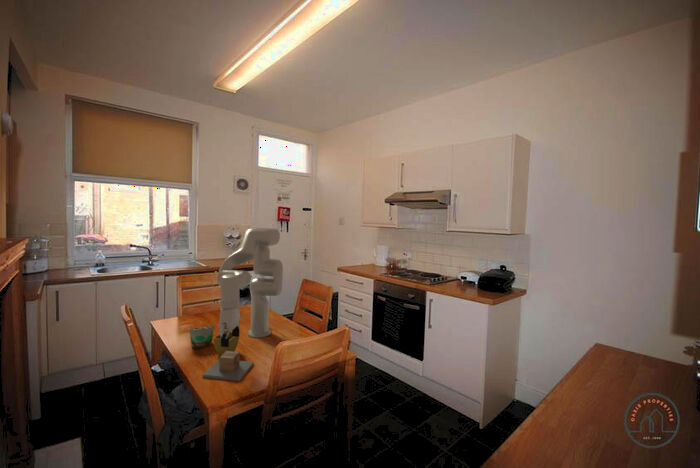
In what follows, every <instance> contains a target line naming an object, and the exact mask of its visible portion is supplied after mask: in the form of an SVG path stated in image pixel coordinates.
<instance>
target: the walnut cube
mask: <svg viewBox="0 0 700 468" xmlns="http://www.w3.org/2000/svg"><path fill="white" fill-rule="evenodd" d="M218 360H219V371H227V372H233V371H234V370H235V369H236V368H237V367H238V366H239V361H240V351H234V352H233V351H226V352H225V353H224V354H222V355H220V356H219V359H218Z"/></svg>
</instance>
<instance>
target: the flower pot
mask: <svg viewBox="0 0 700 468" xmlns="http://www.w3.org/2000/svg"><path fill="white" fill-rule="evenodd" d="M224 334H225V335H226V332H224ZM239 335H240V332H239ZM228 338H229V347H221V338H220V336H219V334H217V335H216V336H214V337H213V344H214V348H215V351H216V353H217V354H218V355H220V356H221V355H222V354H224V353H225V352H226V351H233V352H236V349H237V346H238V344H239V339H240V336H239V337H234V336H232V331H231V332H229V335H228Z"/></svg>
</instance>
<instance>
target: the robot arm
mask: <svg viewBox="0 0 700 468" xmlns="http://www.w3.org/2000/svg"><path fill="white" fill-rule="evenodd" d="M280 237H281V233H280V231H279V230H278V229H277V228H270V227H269V228H266V227H251V228H248V229H246V231H245V232H244V235H243V237H242V239H241V242H240V243H239V247H238V249H237V251H235V252H233V253H232V254H230V255H229V256H228V257H226V259H224V260H223V261H222V263H221V264H220V267H219V270H218V272H217V275H216V282H217V284H218V285H219V286H220V312H219V319H218V320H219V322H218V335H219V336H220V338H221V347H229V338H228V335H229V332H232V336H234V337H239V338H240V334H239V333H240V327H241V325H240V324H241V314H240V304H241V303H240V289H244V288H246V287H248V286H249V292H250V329H249V330H248V331H247V335H248V337H251V338H257V339H258V338H265V337H268V336H270V335H271V334H272V330H271V329H270V328H269V325H270V321H269V316H270V315H269V313H270V311H269V309H270V308H269V307H270V305H269V304H270V303H269V302H270V301H269V300H268V298H267V297H278V296H280V295H281V294H282V290H283V278H284V277H283V275H284V273H283V272H284V267H283V262H282V261H281V260H280V259H274V258H271V257H270V256H271V255H270V253H271V250H270V248H269V247H271V246H274V245H275V246H276V245H277V244H278V243H279V241H280V239H281V238H280ZM251 261H253V274H254V275H256V276H259V277H256V278H254V279H252V276H251V273H250V272H249V271H247V270H241V269H240V270H238V269H233V268H235V267H237V266H239V265H242V264H245V263H247V262H251ZM268 277H272V278H268ZM224 332H226V335H225V334H224Z"/></svg>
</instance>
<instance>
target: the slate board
mask: <svg viewBox="0 0 700 468" xmlns="http://www.w3.org/2000/svg"><path fill="white" fill-rule="evenodd" d="M254 364H255V363H254V361H246V360H239V366H238V367H237V368H236V369H235V370H234V371H233V372H227V371H219V359H218V360H217V361H216V362H214V364H213V365H211V366H210V367H209V368H208V369H207V370H205V372H204V373H203V374H202V378H205V379H206V378H207V379H214V380H215V379H216V380H224V381H232V382H233V381H235V382H240V381H242V379H243V378H244V377H245V376H246V374H247V373H248V372H249V371H250V369H251V368H252V367H253V366H254Z"/></svg>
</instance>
